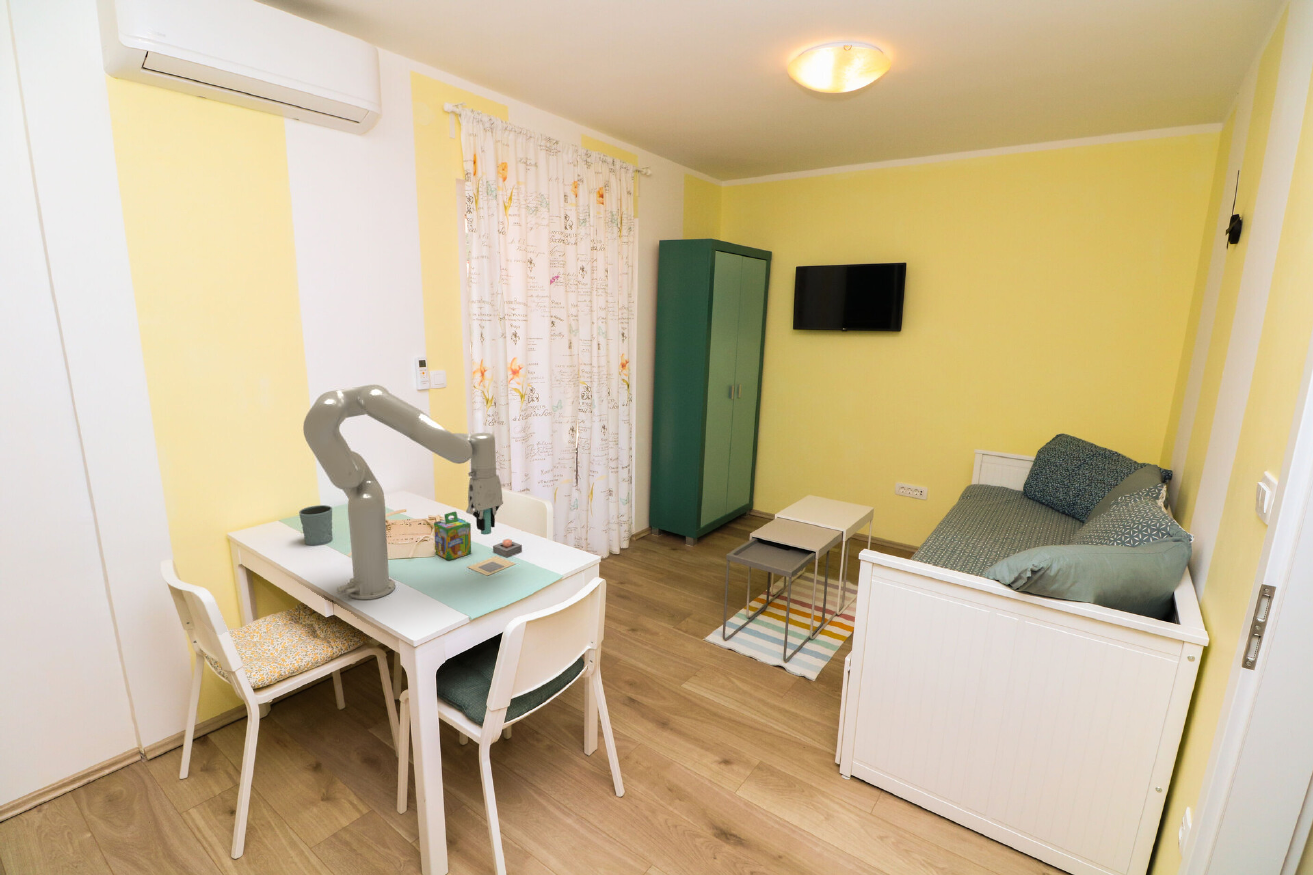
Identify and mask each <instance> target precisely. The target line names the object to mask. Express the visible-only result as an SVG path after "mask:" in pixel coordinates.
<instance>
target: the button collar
mask: <svg viewBox="0 0 1313 875" xmlns="http://www.w3.org/2000/svg"><path fill="white" fill-rule="evenodd" d="M492 549H493V550H492V553H493V554H497V555H498V556H500V557H502V558H505V559H507V558H509V557H511V556H514V555H517V554H520V553H522V552H523V545H522V544H521V543H517V542H514V541H512V547H510V548H504V547H503V541H502V542H500V543H497V544H494V545H492Z"/></svg>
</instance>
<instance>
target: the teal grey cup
mask: <svg viewBox="0 0 1313 875" xmlns="http://www.w3.org/2000/svg"><path fill="white" fill-rule="evenodd" d="M298 514H299V518H300V523H301V525H302V527H301V528H302V532H303V537H304V543H305V544H306V546H312V547H316V546H317V547H318V546H323V545H326V544H329V543H331V542H332V541H333V507H332V506H330V505H328V504H327V505H326V504H325V505H321V504H319V505H312V506H307V507H304V508H302V509H300V510H299V512H298Z"/></svg>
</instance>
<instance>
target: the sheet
mask: <svg viewBox="0 0 1313 875" xmlns="http://www.w3.org/2000/svg"><path fill="white" fill-rule="evenodd" d="M515 565H516V562H512V561H511V560H507V558H504V557H501V556H499V555H498V556H497V555H495V556H493V557H490V558H487V559H484V560H482V561H479V562H476V563H473V564H471V565H469V566H467V567H466V568H468V569H470V570H472V571H475V572H477V573H479V574H481V575H484V576H487V577H488V576H491V575H494V574H495V573H498V572H500V571H502V570H505V569H507V568H509V567H513V566H515Z"/></svg>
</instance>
